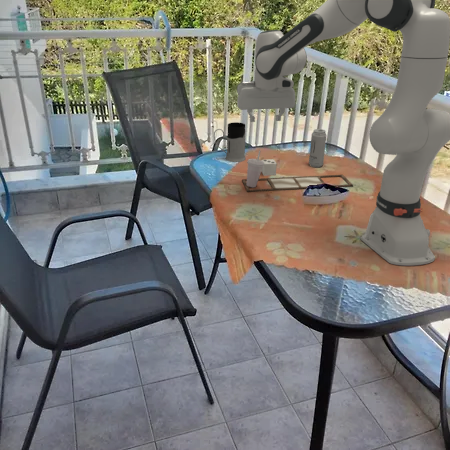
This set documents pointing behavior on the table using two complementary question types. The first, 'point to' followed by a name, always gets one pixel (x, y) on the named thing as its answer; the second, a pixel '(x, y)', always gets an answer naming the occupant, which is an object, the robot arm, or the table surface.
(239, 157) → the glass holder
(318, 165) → the energy drink can
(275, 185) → the board
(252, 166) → the smoothie
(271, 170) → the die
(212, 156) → the table surface
